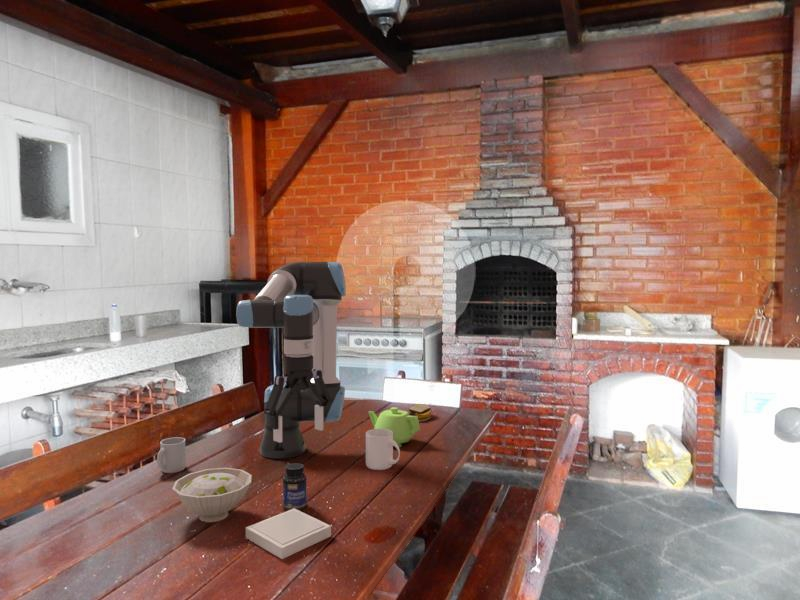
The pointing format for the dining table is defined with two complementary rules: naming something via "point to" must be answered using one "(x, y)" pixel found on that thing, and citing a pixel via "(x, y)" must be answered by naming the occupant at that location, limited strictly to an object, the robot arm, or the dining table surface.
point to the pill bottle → (294, 487)
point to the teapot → (396, 424)
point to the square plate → (288, 533)
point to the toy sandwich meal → (420, 412)
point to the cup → (172, 455)
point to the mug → (380, 449)
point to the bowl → (212, 491)
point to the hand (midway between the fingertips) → (299, 435)
